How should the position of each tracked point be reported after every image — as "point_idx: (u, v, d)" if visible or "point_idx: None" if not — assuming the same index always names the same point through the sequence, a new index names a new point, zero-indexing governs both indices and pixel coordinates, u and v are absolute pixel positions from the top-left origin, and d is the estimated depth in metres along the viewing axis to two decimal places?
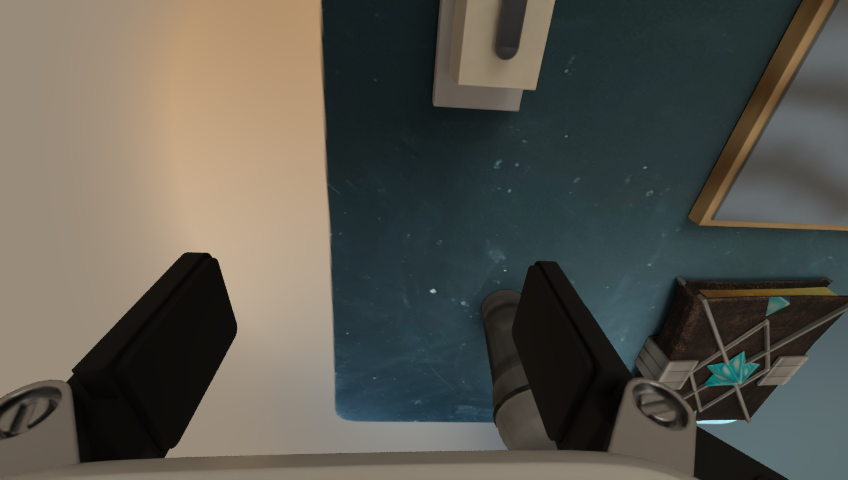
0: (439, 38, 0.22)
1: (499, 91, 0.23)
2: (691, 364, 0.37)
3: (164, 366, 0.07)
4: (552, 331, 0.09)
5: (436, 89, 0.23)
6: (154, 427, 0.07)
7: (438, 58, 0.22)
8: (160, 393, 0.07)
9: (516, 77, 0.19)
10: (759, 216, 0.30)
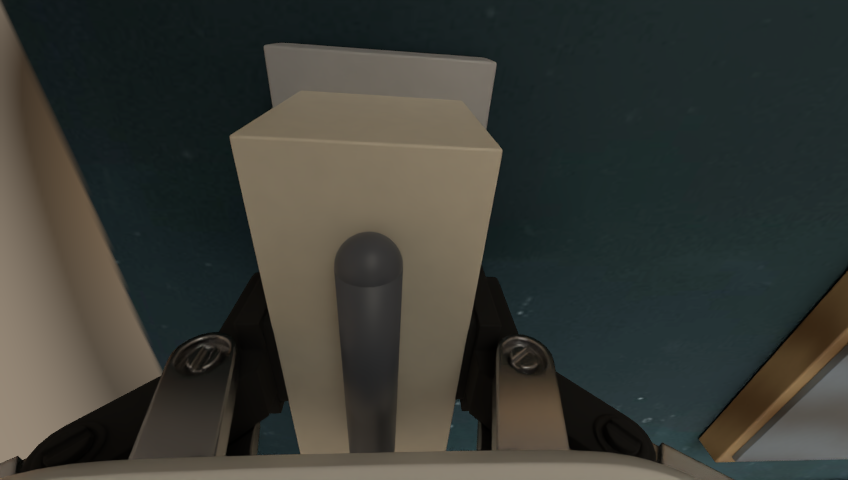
0: None
1: None
2: None
3: None
4: None
5: None
6: (280, 379, 0.08)
7: None
8: None
9: (406, 451, 0.11)
10: (799, 455, 0.21)
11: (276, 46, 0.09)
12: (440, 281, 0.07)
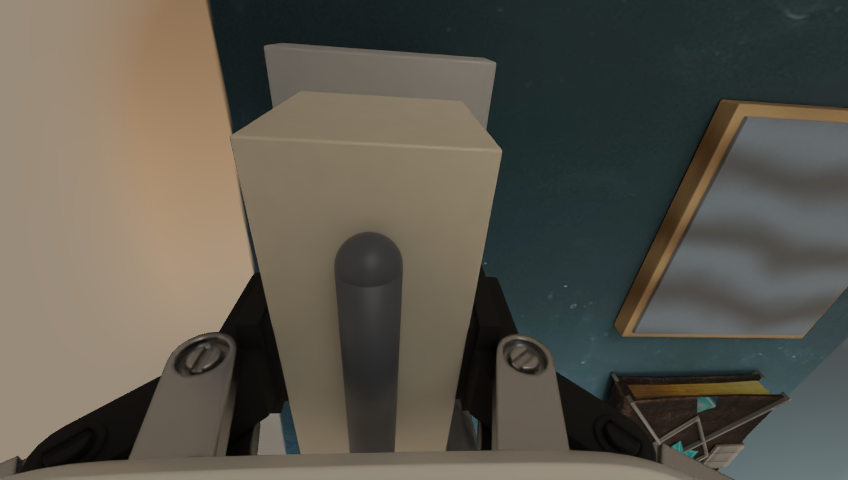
0: None
1: None
2: None
3: None
4: None
5: None
6: (280, 379, 0.08)
7: None
8: None
9: (406, 450, 0.11)
10: (678, 329, 0.31)
11: (276, 46, 0.09)
12: (439, 281, 0.07)
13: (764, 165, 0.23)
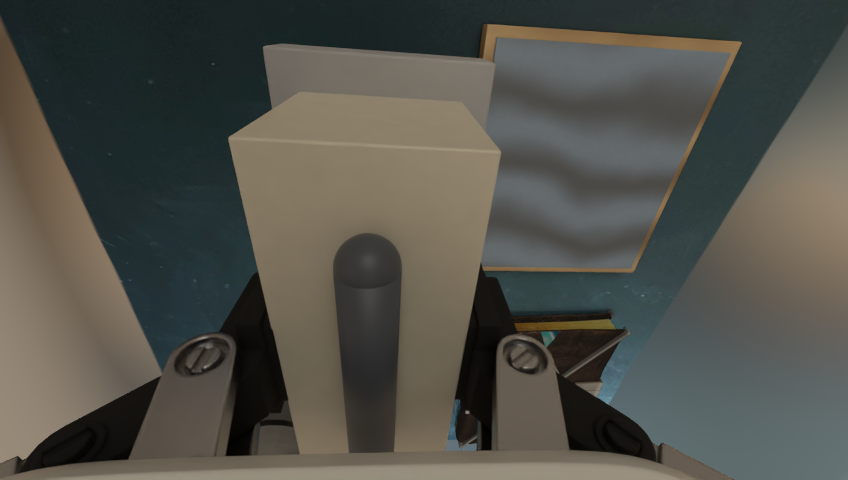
0: None
1: None
2: None
3: None
4: None
5: None
6: (280, 379, 0.08)
7: None
8: None
9: None
10: (506, 262, 0.32)
11: (275, 47, 0.09)
12: (438, 282, 0.07)
13: (530, 88, 0.24)
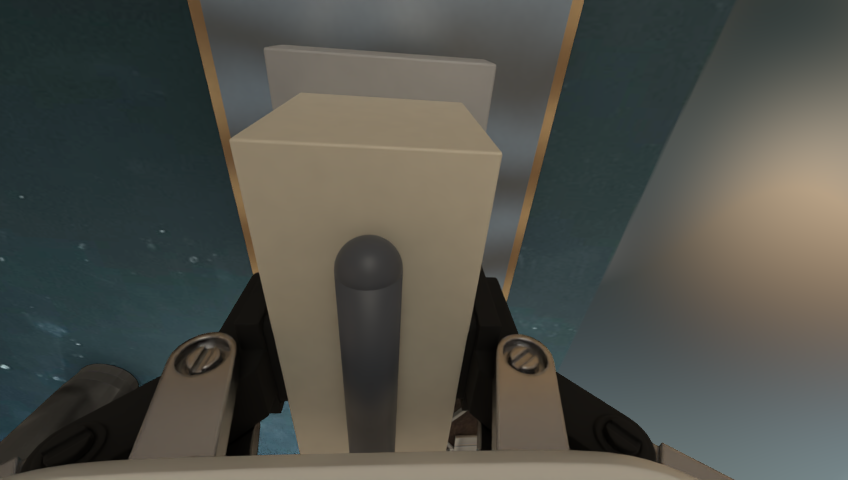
0: None
1: None
2: None
3: None
4: None
5: None
6: (280, 379, 0.08)
7: None
8: None
9: None
10: None
11: (276, 48, 0.09)
12: (440, 284, 0.07)
13: (272, 34, 0.16)
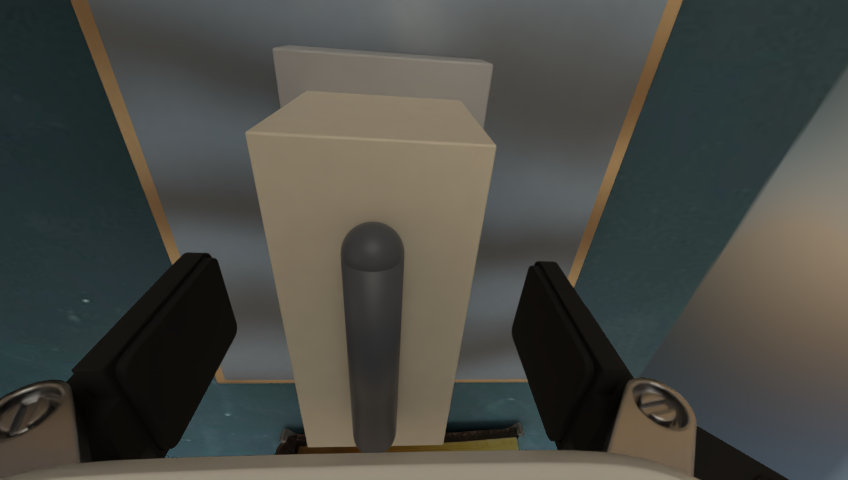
0: None
1: None
2: None
3: (164, 366, 0.07)
4: (552, 331, 0.09)
5: None
6: (154, 427, 0.07)
7: None
8: (160, 393, 0.07)
9: (407, 436, 0.11)
10: None
11: (284, 49, 0.09)
12: (438, 269, 0.08)
13: (204, 42, 0.10)
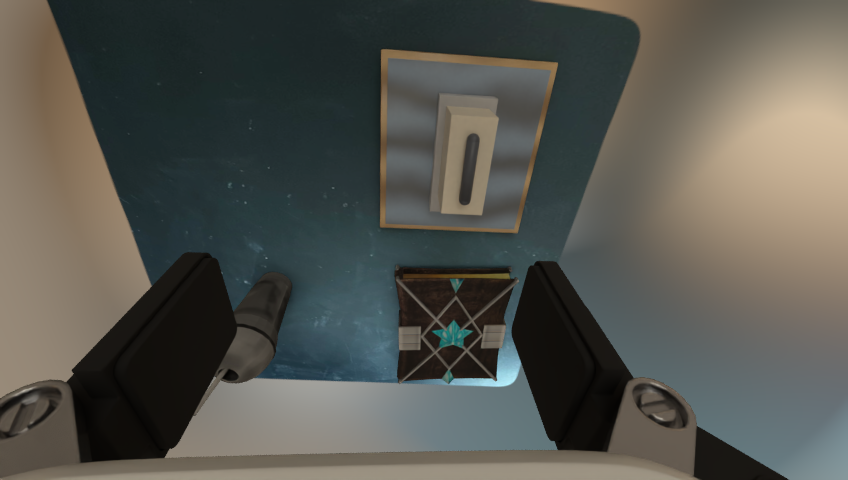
0: (432, 179, 0.39)
1: None
2: (416, 329, 0.51)
3: (164, 366, 0.07)
4: (552, 331, 0.09)
5: (431, 203, 0.41)
6: (154, 427, 0.07)
7: (432, 188, 0.40)
8: (160, 393, 0.07)
9: (471, 209, 0.36)
10: (417, 221, 0.44)
11: (442, 95, 0.35)
12: (485, 147, 0.33)
13: (415, 91, 0.36)
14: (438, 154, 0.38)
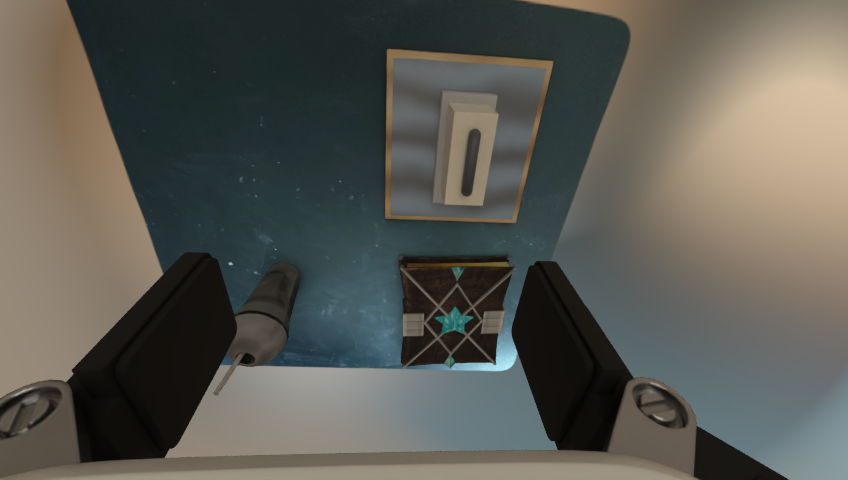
0: (435, 172, 0.41)
1: None
2: (419, 316, 0.53)
3: (164, 366, 0.07)
4: (552, 331, 0.09)
5: (434, 195, 0.43)
6: (154, 427, 0.07)
7: (435, 181, 0.42)
8: (160, 393, 0.07)
9: (472, 200, 0.39)
10: (420, 212, 0.46)
11: (445, 92, 0.37)
12: (486, 142, 0.35)
13: (419, 89, 0.38)
14: (441, 148, 0.40)
